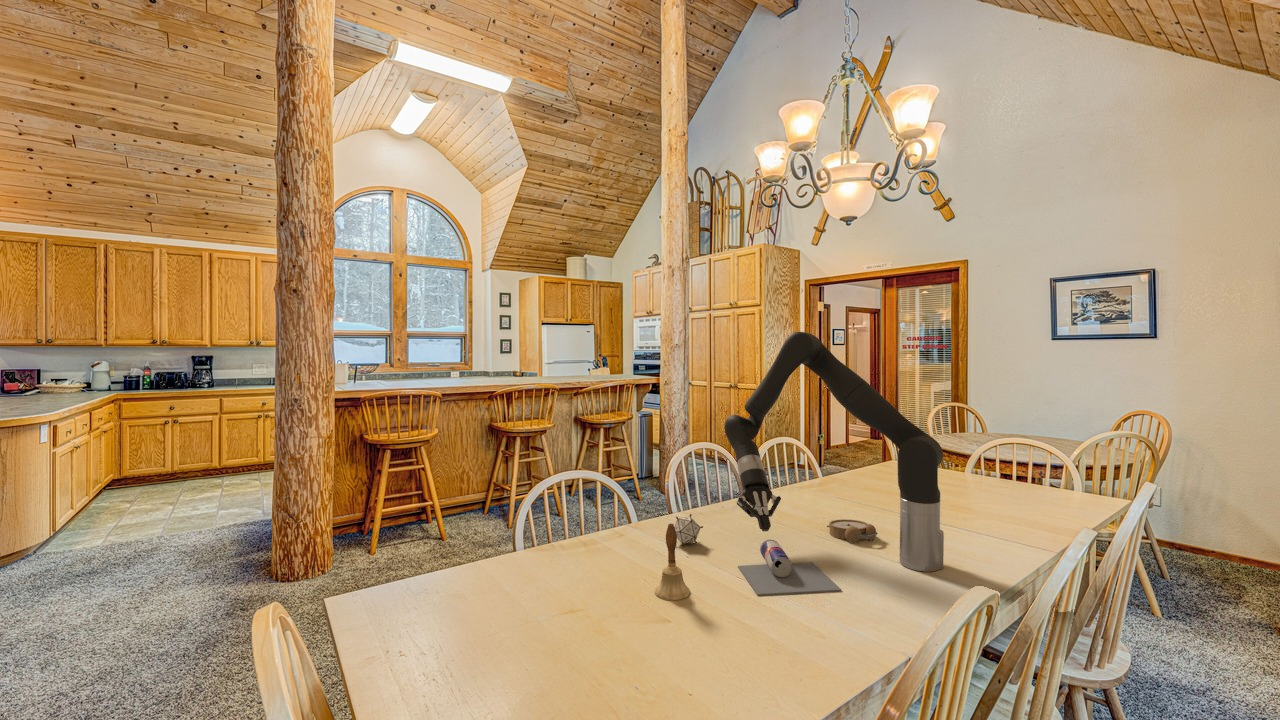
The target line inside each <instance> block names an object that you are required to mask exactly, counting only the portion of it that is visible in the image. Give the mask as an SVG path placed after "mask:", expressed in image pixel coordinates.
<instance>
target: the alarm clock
mask: <svg viewBox="0 0 1280 720" xmlns="http://www.w3.org/2000/svg"><path fill="white" fill-rule="evenodd" d="M826 527H827V528H829V534H830V536H832V537H834V538H837V539H841V540H842V539H843V540H847V541H848V542H849V543H850V544H857V543H859V542H860V541H861V540H867V541H873V540H875V539H876V537H877V535H878V532H877V529H876V527H875V526H874V525H873V524H871V523H867V522H865V521H863V520H862V521H861V520H858V519H857V520H856V519H835V520H831V521H829V522H828V524H827V525H826Z"/></svg>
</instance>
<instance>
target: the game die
mask: <svg viewBox="0 0 1280 720" xmlns="http://www.w3.org/2000/svg"><path fill="white" fill-rule="evenodd" d="M675 519H676V522H675V524H674V528H675V531H676V534H677V541H679V542H680V543H681V547H684V544H685V545H686V544H689V543H695V544H696V543H697V544H698V542H697V538H698V536H699V533H700V532H701V531H700V530H701V529H703V528H704V526H703V525H701V526H700V525H699V524H698V523H697V522H696V521H695V519H694V518H693V517H692V513H689V516H685V517H678V516H675Z"/></svg>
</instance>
